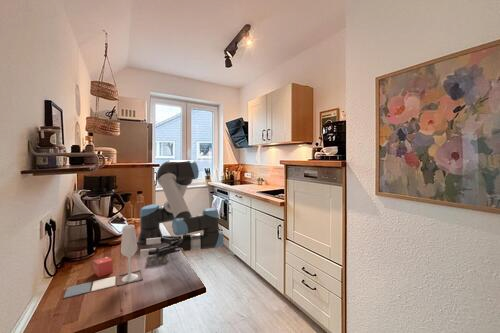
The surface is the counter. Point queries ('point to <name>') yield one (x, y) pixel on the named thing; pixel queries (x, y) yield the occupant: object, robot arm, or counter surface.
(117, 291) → the counter surface
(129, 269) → the champagne flute
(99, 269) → the red die
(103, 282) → the game track
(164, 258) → the egg carton
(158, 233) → the robot arm
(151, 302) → the counter surface
